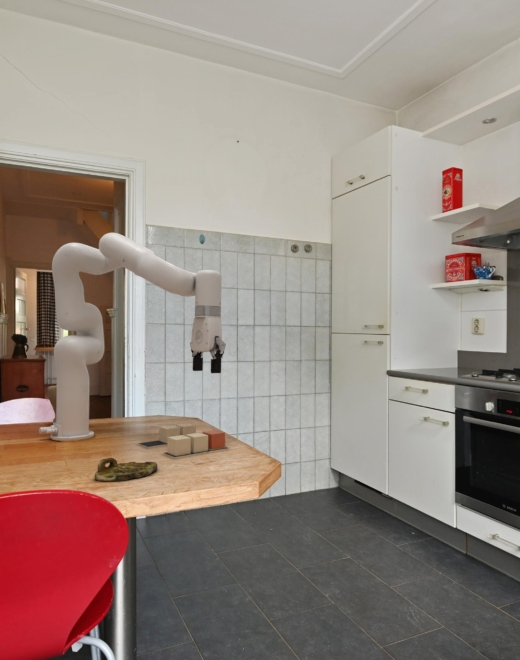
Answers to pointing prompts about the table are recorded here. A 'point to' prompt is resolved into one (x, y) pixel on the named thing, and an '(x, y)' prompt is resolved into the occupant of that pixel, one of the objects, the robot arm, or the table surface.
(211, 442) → the rust orange cube
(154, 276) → the robot arm
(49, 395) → the stone cup
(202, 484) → the table surface
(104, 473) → the seal
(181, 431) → the left rack
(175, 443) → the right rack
